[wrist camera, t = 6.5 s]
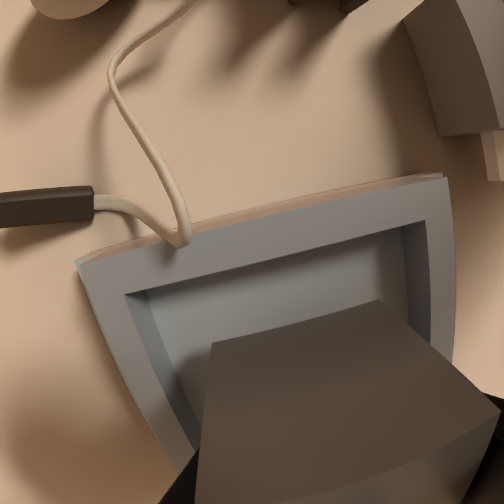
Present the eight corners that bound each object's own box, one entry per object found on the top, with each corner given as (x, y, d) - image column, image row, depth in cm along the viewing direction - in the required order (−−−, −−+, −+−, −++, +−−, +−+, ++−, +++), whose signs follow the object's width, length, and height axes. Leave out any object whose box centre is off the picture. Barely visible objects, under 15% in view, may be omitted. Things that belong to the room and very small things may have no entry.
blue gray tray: (423, 172, 10) (470, 172, 7) (430, 391, 12) (458, 424, 9) (90, 252, 10) (50, 274, 7) (182, 457, 12) (176, 501, 9)
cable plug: (460, 29, 9) (507, 3, 5) (498, 173, 10) (557, 177, 7) (400, 20, 9) (446, -18, 5) (445, 183, 10) (509, 188, 7)
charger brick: (378, 299, 8) (522, 432, 2) (382, 416, 9) (454, 541, 3) (212, 342, 8) (191, 546, 2) (252, 452, 9) (266, 600, 3)
